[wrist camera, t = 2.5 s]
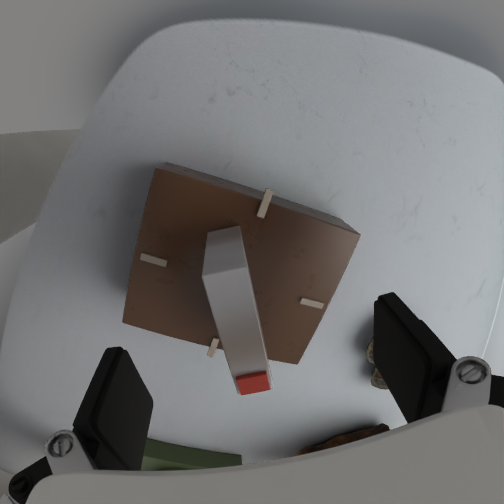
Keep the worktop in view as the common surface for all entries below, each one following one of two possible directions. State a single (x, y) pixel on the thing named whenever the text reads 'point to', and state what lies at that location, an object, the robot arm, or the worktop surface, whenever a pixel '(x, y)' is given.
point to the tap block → (257, 253)
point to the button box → (183, 458)
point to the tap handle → (236, 310)
